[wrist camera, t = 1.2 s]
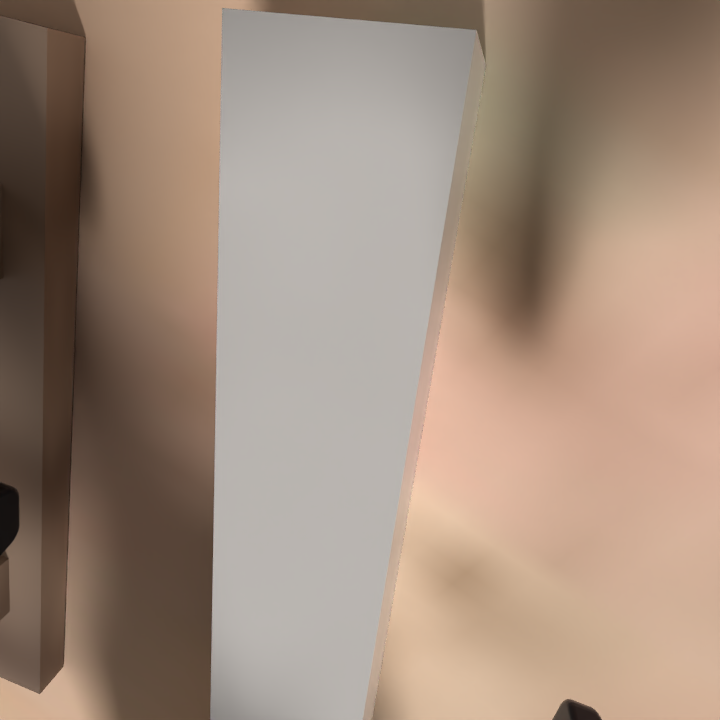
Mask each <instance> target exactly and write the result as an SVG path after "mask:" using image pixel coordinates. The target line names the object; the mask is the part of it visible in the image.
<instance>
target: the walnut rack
mask: <svg viewBox="0 0 720 720" xmlns="http://www.w3.org/2000/svg"><path fill="white" fill-rule="evenodd" d="M84 56H85V37H81V36H78V35H74V34H70V33H66V32H62V31H58V30H54V29H51V28H47V27H43V26H39V25H35V24H31V23H27V22H24V21H20V20H16V19H12V18H8V17H4V16H0V482H2V483H4V484H7V485H10V486H12V487H14V488H16V489H17V490H18V492H19V510H20V526H19V531H18V533H17V536H16V537H15V539H14V541H13V542H12V543H11V544H10V546H9V547H8V548H7V549H6V550H5V551H4V553H3V554H2V555H1V556H0V677H1V678H4V679H6V680H8V681H11V682H13V683H15V684H18V685H20V686H22V687H25V688H27V689H29V690H32V691H34V692H36V693H38V694H40V693H41V692H42V691H43V690H44V689H45V687H46V686H47V685H48V684H49V683H50V682H51V680H52V679H53V678H54V677H55V676H56V674H57V673H58V672H59V671H60V670H61V669H62V667H63V659H64V630H65V601H66V573H67V544H68V515H69V486H70V458H71V429H72V400H73V372H74V343H75V314H76V286H77V257H78V228H79V199H80V171H81V142H82V113H83V85H84Z"/></svg>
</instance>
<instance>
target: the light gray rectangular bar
mask: <svg viewBox="0 0 720 720" xmlns="http://www.w3.org/2000/svg"><path fill="white" fill-rule="evenodd" d="M485 70H486V63H485V59H484V56H483V52H482V48H481V45H480V41H479V37H478V33H477V30H471V29H460V28H448V27H436V26H425V25H413V24H401V23H390V22H378V21H366V20H355V19H343V18H331V17H320V16H308V15H296V14H285V13H273V12H261V11H250V10H238V9H226V8H222V60H221V119H220V177H219V236H218V295H217V353H216V412H215V471H214V530H213V588H212V647H211V706H210V720H372V717H373V713H374V707H375V701H376V695H377V690H378V684H379V678H380V672H381V667H382V661H383V655H384V649H385V644H386V638H387V632H388V626H389V621H390V615H391V609H392V604H393V598H394V592H395V586H396V581H397V575H398V569H399V563H400V558H401V552H402V546H403V540H404V535H405V529H406V523H407V517H408V512H409V506H410V500H411V495H412V489H413V483H414V477H415V472H416V466H417V460H418V454H419V449H420V443H421V437H422V431H423V426H424V420H425V414H426V408H427V403H428V397H429V391H430V386H431V380H432V374H433V368H434V363H435V357H436V351H437V345H438V340H439V334H440V328H441V322H442V317H443V311H444V305H445V299H446V294H447V288H448V282H449V277H450V271H451V265H452V259H453V254H454V248H455V242H456V236H457V231H458V225H459V219H460V213H461V208H462V202H463V196H464V190H465V185H466V179H467V173H468V168H469V162H470V156H471V150H472V145H473V139H474V133H475V127H476V122H477V116H478V110H479V104H480V99H481V93H482V87H483V81H484V76H485Z"/></svg>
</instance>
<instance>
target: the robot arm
mask: <svg viewBox="0 0 720 720" xmlns="http://www.w3.org/2000/svg"><path fill="white" fill-rule="evenodd" d="M19 526H20V510H19V492H18V490H17V489H16V488H14V487H12V486H10V485H7V484H4V483H2V482H0V556H1V555H2V554H3V553H4V551H5V550H6V549H7V548H8V547H9V546H10V544H11V543H12V542H13V541H14V539H15V537H16V536H17V533H18V531H19ZM552 720H602V719H601V717H600V716H599V714H598V713H597V712H596V711H595V710H594V709H593V708H592V707H589V706H587V705H584V704H581V703H579V702H576V701H574V700H571V699H567V700H565V701H563V703H562V704H561V705H560V707H559V709H558V711H557V712H556V714H555V716H554V718H553V719H552Z"/></svg>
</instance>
